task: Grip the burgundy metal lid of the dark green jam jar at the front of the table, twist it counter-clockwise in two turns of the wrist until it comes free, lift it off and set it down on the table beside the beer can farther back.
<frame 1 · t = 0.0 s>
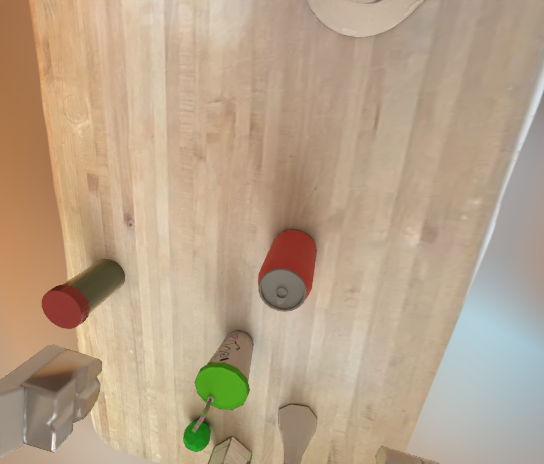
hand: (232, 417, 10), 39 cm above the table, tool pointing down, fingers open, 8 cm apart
jar: (109, 274, 57), on the table
flask: (297, 417, 61), on the table
polyhedron: (202, 424, 66), on the table
lid: (63, 308, 48), point 10 cm above the table, screwed on, not yet turned
cup: (240, 341, 58), on the table
beer can: (294, 249, 50), on the table
syrup box: (233, 448, 67), on the table
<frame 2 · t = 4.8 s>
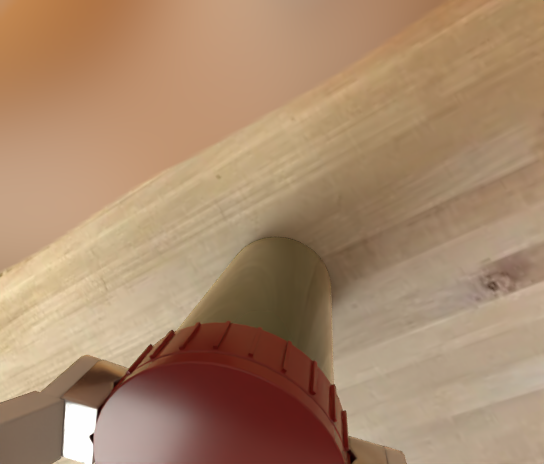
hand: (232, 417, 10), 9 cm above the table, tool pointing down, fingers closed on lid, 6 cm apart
jar: (278, 286, 18), on the table
lid: (219, 462, 8), point 10 cm above the table, screwed on, not yet turned, touching gripper
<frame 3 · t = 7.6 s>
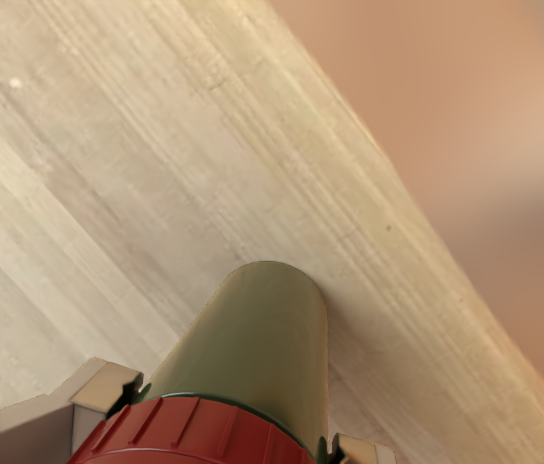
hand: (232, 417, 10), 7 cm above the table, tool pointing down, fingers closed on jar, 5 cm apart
jar: (269, 314, 17), on the table, touching gripper
when the fingers open (7 cm above the table, at t = 9.3 s): jar stays where it is, on the table.
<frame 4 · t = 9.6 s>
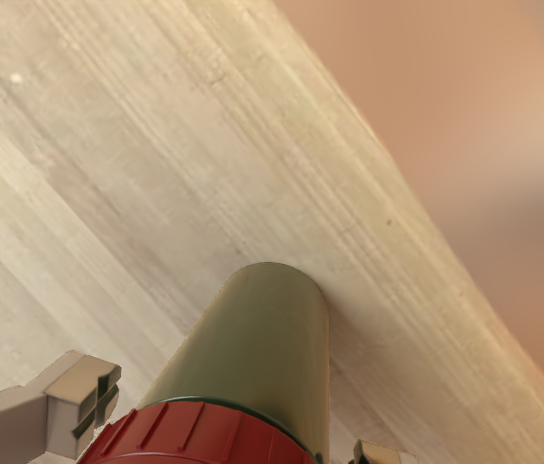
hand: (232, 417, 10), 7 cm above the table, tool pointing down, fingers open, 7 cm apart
jar: (271, 314, 17), on the table
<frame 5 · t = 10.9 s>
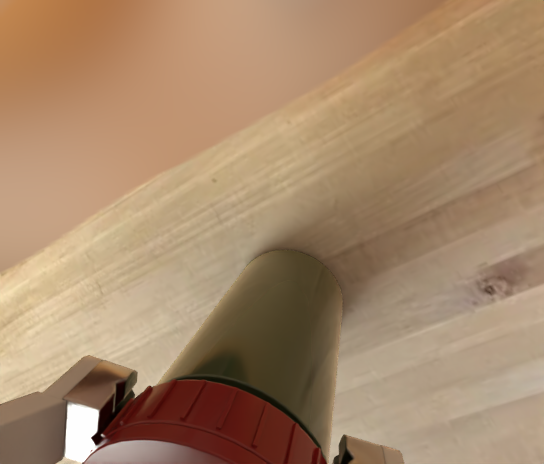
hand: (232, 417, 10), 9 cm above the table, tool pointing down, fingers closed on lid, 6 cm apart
jar: (288, 299, 18), on the table, tilted 6°
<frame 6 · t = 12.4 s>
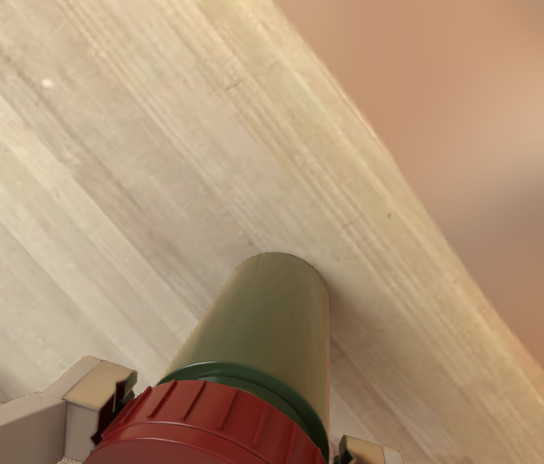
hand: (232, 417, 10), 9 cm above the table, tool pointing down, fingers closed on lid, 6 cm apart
jar: (276, 301, 18), on the table
when the fingers open (0 cm above the table, at t = 21.3 s): lid stays where it is, point 1 cm above the table.
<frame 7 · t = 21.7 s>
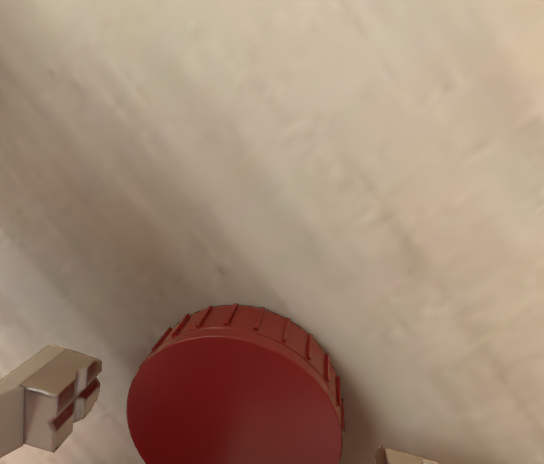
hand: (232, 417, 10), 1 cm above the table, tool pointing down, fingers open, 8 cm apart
lid: (233, 422, 10), point 1 cm above the table, off its thread
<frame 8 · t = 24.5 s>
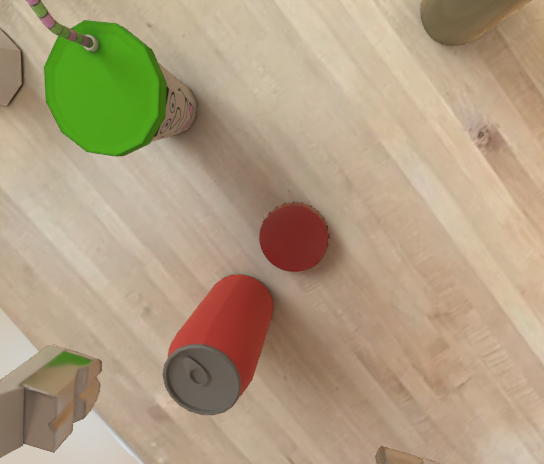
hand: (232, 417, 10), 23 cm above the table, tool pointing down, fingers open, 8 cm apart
jar: (459, 4, 25), on the table
lid: (293, 238, 31), point 1 cm above the table, off its thread
cup: (174, 107, 31), on the table
beer can: (242, 301, 35), on the table
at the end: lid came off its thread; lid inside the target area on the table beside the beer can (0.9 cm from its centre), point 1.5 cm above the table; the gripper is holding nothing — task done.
